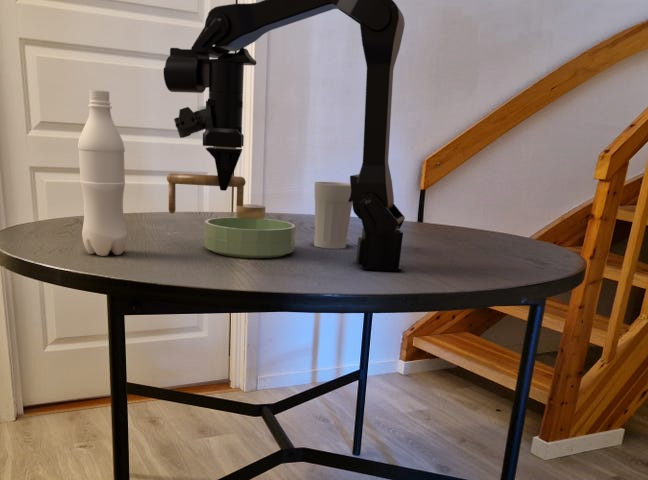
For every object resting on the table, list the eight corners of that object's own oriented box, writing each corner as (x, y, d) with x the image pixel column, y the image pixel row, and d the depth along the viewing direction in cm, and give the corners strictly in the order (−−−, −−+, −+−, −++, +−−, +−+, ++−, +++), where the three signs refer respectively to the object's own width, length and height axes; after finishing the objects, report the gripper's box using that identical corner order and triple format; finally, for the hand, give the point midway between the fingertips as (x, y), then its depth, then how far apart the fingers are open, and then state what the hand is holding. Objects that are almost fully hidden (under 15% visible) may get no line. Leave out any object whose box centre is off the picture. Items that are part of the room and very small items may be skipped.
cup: (336, 251, 117) (342, 185, 113) (302, 245, 122) (306, 182, 118) (357, 246, 123) (363, 184, 119) (323, 241, 128) (328, 181, 124)
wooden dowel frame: (165, 214, 107) (164, 173, 105) (169, 211, 112) (168, 172, 110) (265, 219, 108) (267, 179, 106) (264, 216, 113) (266, 177, 110)
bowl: (290, 245, 120) (292, 219, 119) (295, 261, 105) (297, 232, 104) (208, 241, 120) (208, 215, 118) (201, 256, 105) (201, 227, 103)
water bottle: (73, 252, 102) (64, 88, 93) (105, 247, 108) (100, 92, 99) (105, 259, 98) (98, 89, 90) (136, 253, 104) (132, 93, 96)
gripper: (183, 94, 112) (183, 183, 117) (170, 87, 94) (170, 192, 99) (245, 98, 112) (242, 186, 117) (243, 91, 95) (239, 195, 100)
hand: (223, 189), depth 109 cm, fingers closed on wooden dowel frame
